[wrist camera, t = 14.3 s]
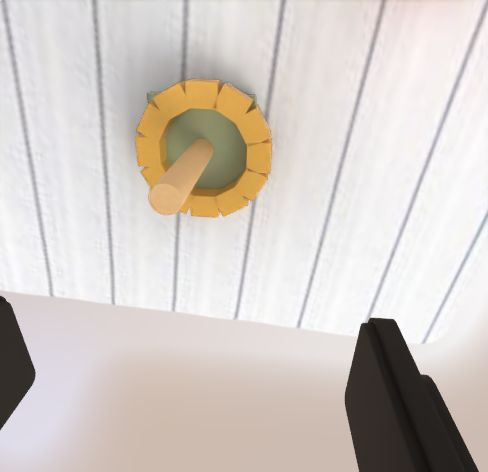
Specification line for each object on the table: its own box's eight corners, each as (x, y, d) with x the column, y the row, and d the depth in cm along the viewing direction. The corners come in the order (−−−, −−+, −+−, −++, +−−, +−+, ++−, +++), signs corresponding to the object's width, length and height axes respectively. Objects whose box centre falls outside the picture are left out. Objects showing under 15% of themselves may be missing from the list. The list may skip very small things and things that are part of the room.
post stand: (160, 191, 34) (102, 261, 23) (151, 91, 30) (74, 115, 18) (252, 195, 34) (241, 269, 22) (256, 94, 29) (244, 121, 18)
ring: (150, 204, 34) (143, 213, 32) (137, 76, 28) (127, 78, 27) (267, 211, 33) (266, 220, 31) (276, 82, 28) (276, 84, 26)
